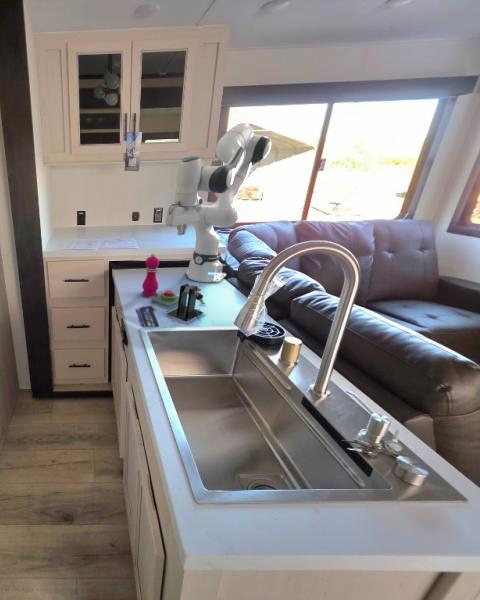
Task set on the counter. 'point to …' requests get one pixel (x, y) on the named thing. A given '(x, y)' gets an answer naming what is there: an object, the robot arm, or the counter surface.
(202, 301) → the soupspoon
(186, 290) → the lever
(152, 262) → the pepper mill
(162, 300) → the button box
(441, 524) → the counter surface
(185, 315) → the bracket
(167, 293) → the button
